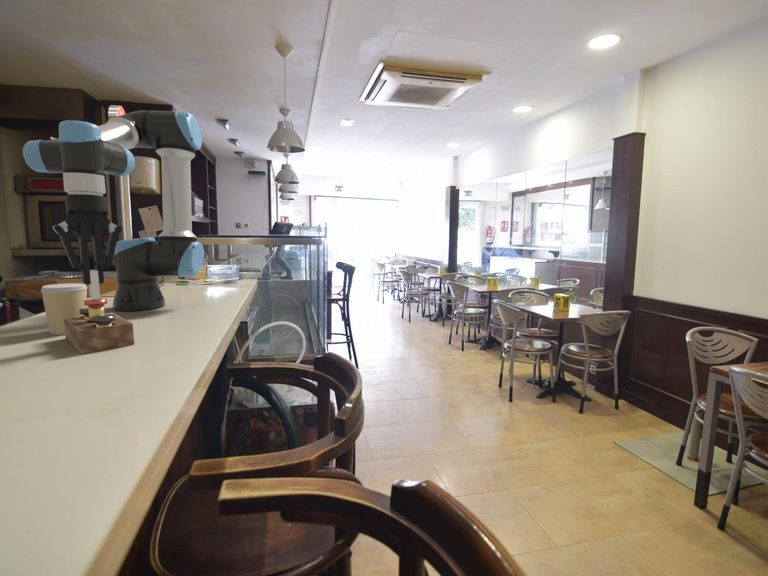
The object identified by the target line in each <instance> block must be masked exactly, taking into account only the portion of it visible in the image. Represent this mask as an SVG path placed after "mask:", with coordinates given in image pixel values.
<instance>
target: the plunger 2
mask: <svg viewBox="0 0 768 576" xmlns="http://www.w3.org/2000/svg"><path fill="white" fill-rule="evenodd" d="M114 320H115V315H113V314H104V315H96V316H92V317H91V321H92V322H93V323H96V328H100V327H107V326H112V321H114Z"/></svg>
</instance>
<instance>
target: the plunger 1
mask: <svg viewBox="0 0 768 576" xmlns="http://www.w3.org/2000/svg"><path fill="white" fill-rule="evenodd" d="M79 312H80V314H81V315H84V319H89V311H88V307H87V308H82V309H79Z"/></svg>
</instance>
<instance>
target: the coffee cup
mask: <svg viewBox="0 0 768 576" xmlns="http://www.w3.org/2000/svg"><path fill="white" fill-rule="evenodd" d="M40 292H41V295H42V301H43V307H44V311H45V316H46V322H47V326H48V330H49V334H51V335H58V336H61V335H65V326H64V318H71V317H79V316H84V315H81V314H80V312H79V309H82V308H88V306H85V305H84V300H87V299H88V294H87V293H88V286H87V285H85V284H84V283H83V282H78V283H77V282H72V283H71V282H69V283H67V282H66V283H65V282H64V283H54V284H53V283H52V284H46V285H43V286H42V287H41V289H40Z"/></svg>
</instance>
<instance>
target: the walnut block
mask: <svg viewBox="0 0 768 576" xmlns="http://www.w3.org/2000/svg"><path fill="white" fill-rule="evenodd" d="M104 313H105V314H113V315H115V320H114V321H112V326H107V327H100V328H96V323H90V321H89V319H84V316H79V317H71V318H64V326H65V334H64V335H65V340H66V341H68V343H70V344H71V345H72V346H73V347H74V348H75V349H76V350H77V351H78V352H79V353H80V354H87V353H88V354H89V353H93V352H99V351H103V350H110V349H115V348H116V349H117V348H121V347H127V346H133V345H135V336H134V335H135V334H134V324H133V322H131V321H129V320H127V319H126V318H124V317H121V316H120V315H118V314H116V313H115V312H104Z"/></svg>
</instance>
